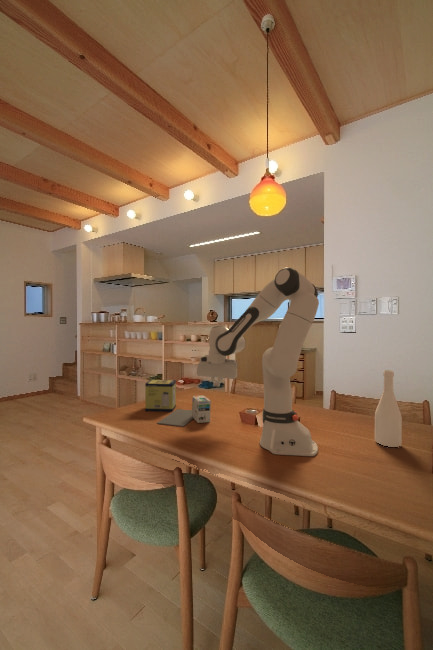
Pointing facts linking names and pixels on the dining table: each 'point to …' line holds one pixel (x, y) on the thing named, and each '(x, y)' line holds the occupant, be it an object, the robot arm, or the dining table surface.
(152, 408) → the protein box
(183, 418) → the rubber mat
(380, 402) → the wine bottle
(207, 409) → the light bulb box
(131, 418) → the dining table surface
